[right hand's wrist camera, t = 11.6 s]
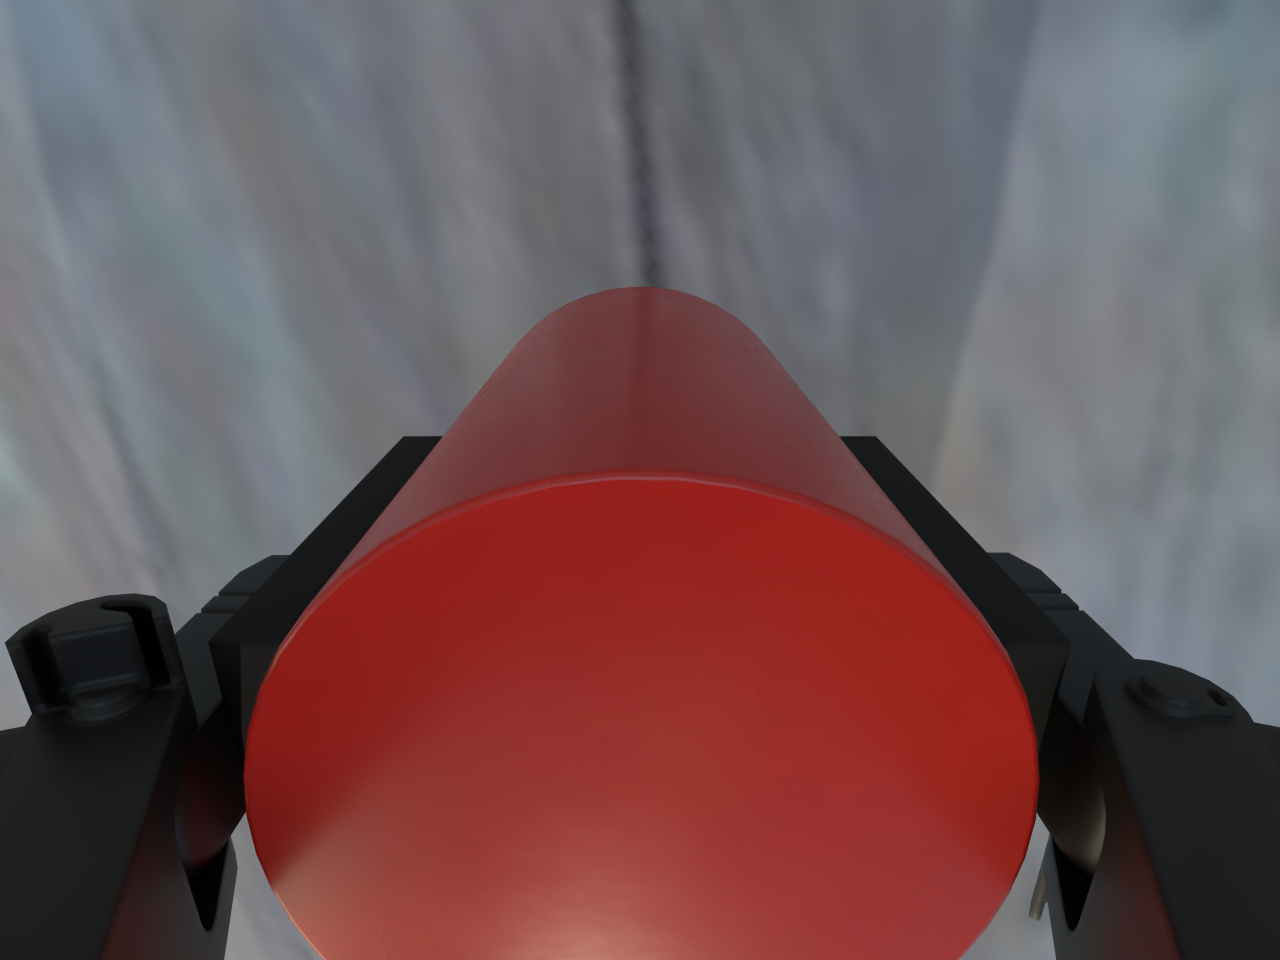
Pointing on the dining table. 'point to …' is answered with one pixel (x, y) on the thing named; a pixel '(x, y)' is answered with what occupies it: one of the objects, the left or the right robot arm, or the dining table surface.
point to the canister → (641, 683)
